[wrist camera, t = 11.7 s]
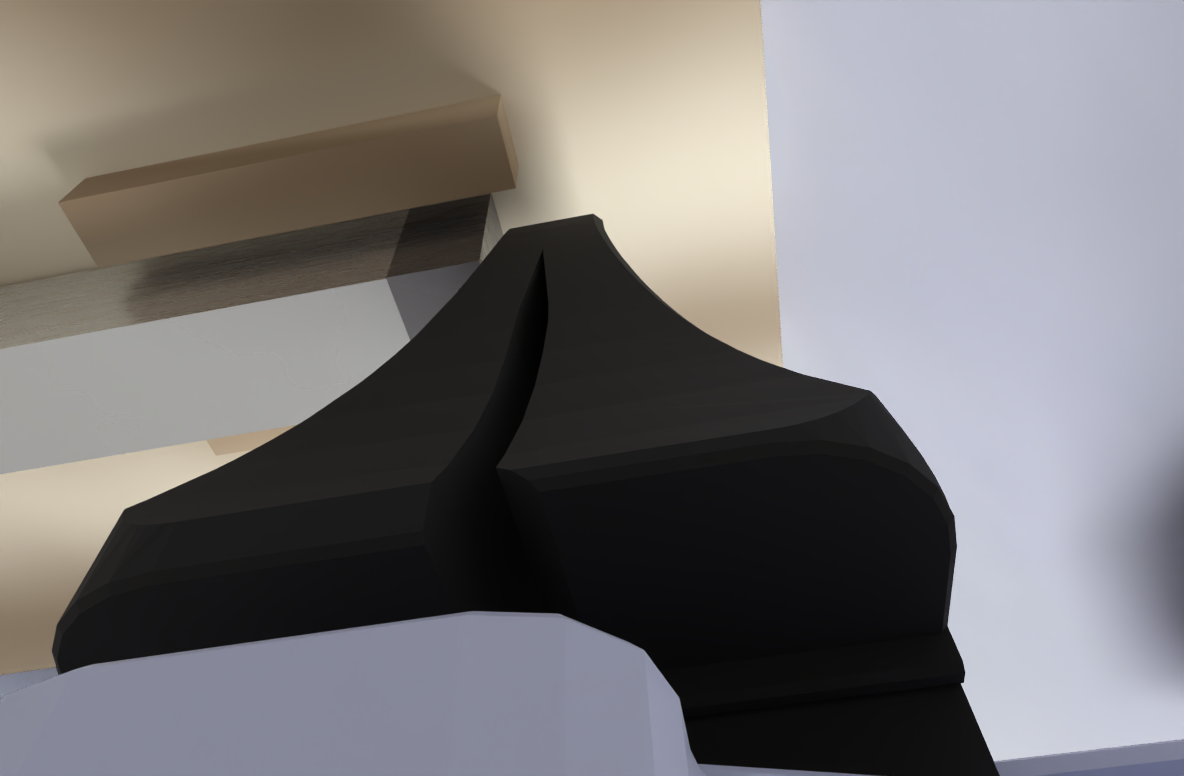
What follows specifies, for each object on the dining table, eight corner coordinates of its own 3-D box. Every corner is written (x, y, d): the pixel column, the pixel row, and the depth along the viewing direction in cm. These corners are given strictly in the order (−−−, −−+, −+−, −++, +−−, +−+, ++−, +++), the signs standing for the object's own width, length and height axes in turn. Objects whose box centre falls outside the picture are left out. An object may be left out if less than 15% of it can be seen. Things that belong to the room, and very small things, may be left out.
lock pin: (524, 311, 13) (518, 389, 11) (-87, 418, 14) (-172, 504, 12) (491, 191, 12) (479, 260, 10) (-176, 318, 13) (-283, 399, 11)
